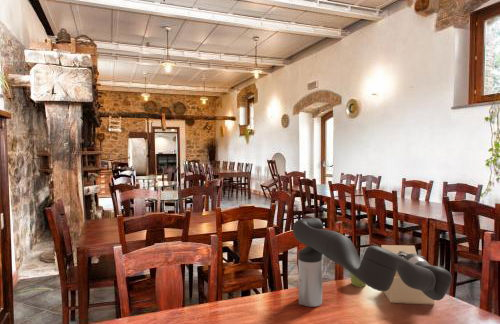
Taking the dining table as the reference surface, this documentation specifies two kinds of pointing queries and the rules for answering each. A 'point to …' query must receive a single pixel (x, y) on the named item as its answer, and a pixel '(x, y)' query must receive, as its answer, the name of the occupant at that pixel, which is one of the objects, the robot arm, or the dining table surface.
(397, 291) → the carton
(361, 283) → the plant pot
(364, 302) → the dining table surface
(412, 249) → the back flap
